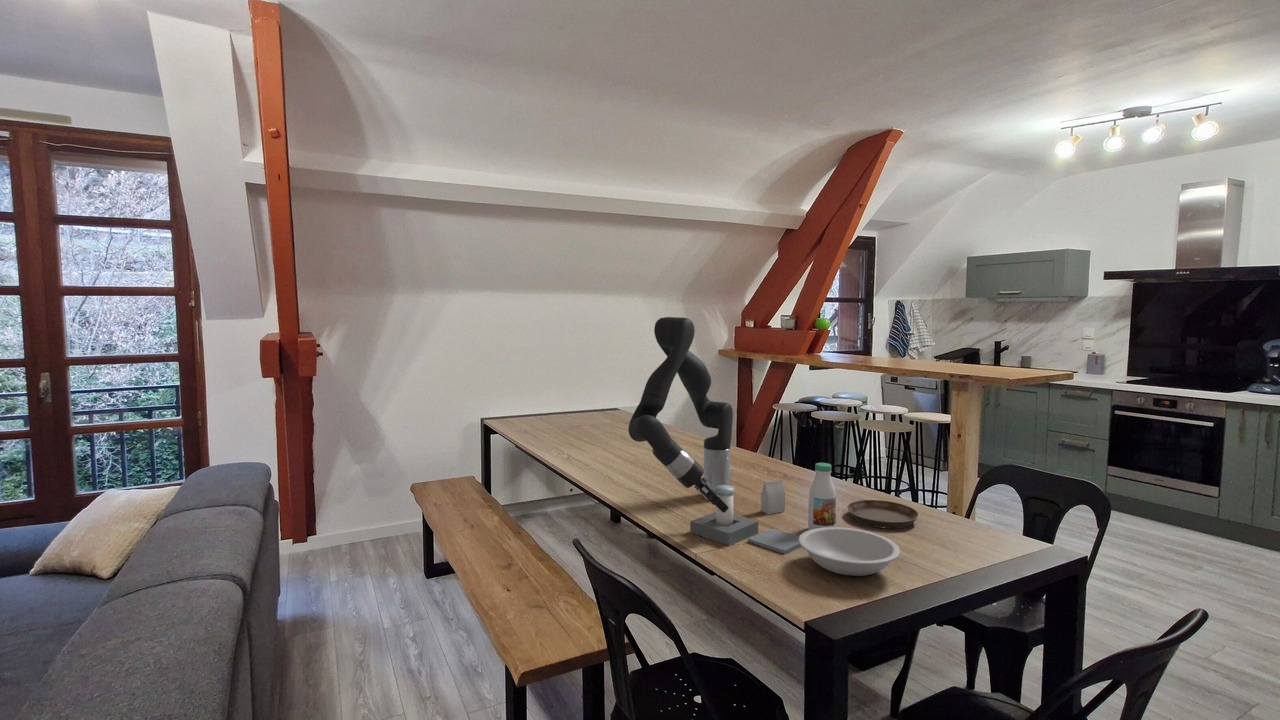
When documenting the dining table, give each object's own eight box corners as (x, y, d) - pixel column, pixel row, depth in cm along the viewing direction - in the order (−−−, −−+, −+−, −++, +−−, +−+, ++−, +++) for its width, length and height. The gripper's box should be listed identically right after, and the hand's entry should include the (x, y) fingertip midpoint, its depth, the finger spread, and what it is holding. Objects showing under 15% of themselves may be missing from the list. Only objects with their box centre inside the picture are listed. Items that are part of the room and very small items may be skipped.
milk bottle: (803, 531, 180) (804, 464, 179) (815, 524, 186) (817, 459, 184) (827, 537, 175) (829, 468, 173) (839, 530, 180) (841, 464, 179)
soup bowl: (921, 583, 145) (922, 556, 145) (833, 596, 139) (834, 568, 138) (858, 546, 168) (859, 523, 168) (780, 556, 162) (781, 531, 161)
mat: (771, 531, 180) (771, 528, 180) (808, 542, 171) (808, 538, 171) (747, 542, 171) (747, 538, 171) (785, 554, 163) (785, 550, 163)
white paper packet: (784, 511, 198) (785, 481, 197) (768, 514, 195) (768, 483, 194) (777, 508, 201) (777, 478, 200) (760, 511, 198) (761, 481, 197)
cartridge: (722, 528, 182) (723, 484, 181) (737, 533, 178) (738, 487, 177) (711, 532, 178) (711, 487, 177) (726, 537, 174) (726, 491, 173)
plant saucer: (882, 535, 177) (882, 524, 177) (832, 514, 196) (833, 504, 196) (933, 526, 186) (933, 515, 185) (881, 506, 204) (881, 496, 204)
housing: (719, 521, 188) (720, 510, 188) (758, 533, 178) (758, 521, 178) (690, 532, 178) (690, 521, 178) (729, 545, 168) (729, 533, 168)
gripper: (698, 464, 168) (738, 503, 171) (688, 452, 183) (725, 489, 185) (679, 483, 168) (719, 523, 170) (670, 470, 182) (707, 507, 184)
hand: (722, 505), depth 178 cm, fingers open, 8 cm apart
